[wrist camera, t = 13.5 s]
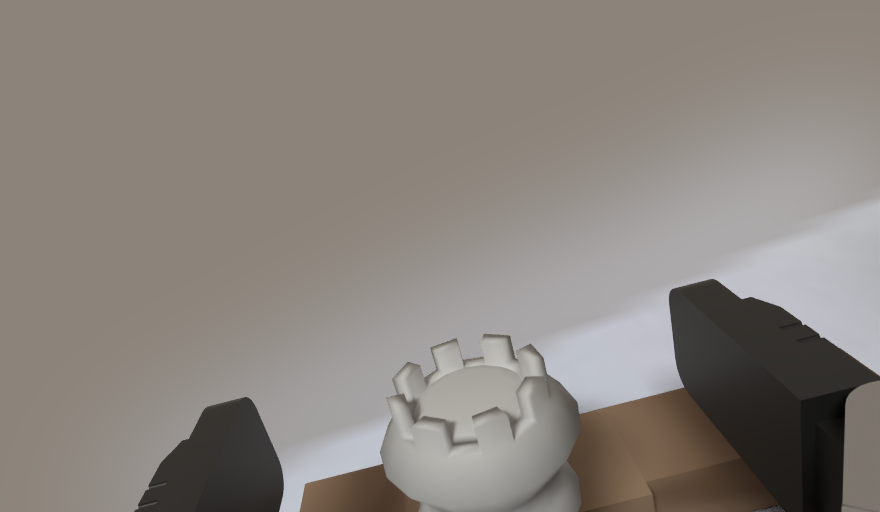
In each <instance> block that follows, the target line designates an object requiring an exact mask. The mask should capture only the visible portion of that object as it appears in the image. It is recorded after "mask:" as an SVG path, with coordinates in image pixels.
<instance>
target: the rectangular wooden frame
mask: <svg viewBox="0 0 880 512" xmlns="http://www.w3.org/2000/svg"><path fill="white" fill-rule="evenodd" d="M839 349H841V348H839ZM841 350H842V349H841ZM842 351H843V350H842ZM844 352H845V351H844ZM845 353H846V352H845ZM847 354H848V353H847ZM848 355H849V354H848ZM849 356H851V355H849ZM851 357H852V356H851ZM852 358H853V357H852ZM854 359H855V358H854ZM855 360H856V359H855ZM856 361H858V360H856ZM858 362H859V361H858ZM859 363H860V362H859ZM861 364H862V363H861ZM862 365H863V364H862ZM864 366H865V365H864ZM865 367H866V366H865ZM866 368H868V367H866ZM868 369H869V368H868ZM869 370H870V369H869ZM871 371H872V370H871ZM872 372H873V371H872ZM873 373H875V372H873ZM875 374H876V373H875ZM876 375H878V374H876ZM878 376H879V375H878ZM879 377H880V376H879ZM579 417H580V424H581V430H580V433H579V435H578V437H577V439H576V441H575V444H574V446H573V448H572V450H571V453H570V455H569V457H568V459H567V460H566V461H567V462H568V463H569V465H570V466H571V467H572V469H573V470H574V472H575V473H576V474H577V476H578V477H579V485H580V493H581V501H582V503H581V505H580V508H579V511H578V512H752V511H756V510H760V509H764V508H768V507H772V506H776V505H779V503H778V502H777V501H776V500H775V499H774V497H773V496H772V495H771V494H770V492H769V491H768V490H767V489H766V488H765V486H764V485H763V484H762V483H761V481H760V480H759V479H758V478H757V477H756V475H755V474H754V473H753V472H752V470H751V469H750V468H749V467H748V466H747V464H746V463H745V462H744V461H743V459H742V458H741V457H740V456H739V455H738V453H737V452H736V451H735V450H734V449H733V447H732V446H731V445H730V444H729V442H728V441H727V440H726V439H725V438H724V436H723V435H722V434H721V433H720V431H719V430H718V429H717V428H716V427H715V425H714V424H713V423H712V422H711V420H710V419H709V418H708V417H707V416H706V414H705V413H704V412H703V411H702V409H701V408H700V407H699V406H698V405H697V403H696V402H695V401H694V400H693V399H692V397H691V396H690V395H689V393H688V392H687V390H686V389H685V388H681V389H677V390H673V391H669V392H665V393H661V394H658V395H654V396H650V397H646V398H642V399H638V400H634V401H630V402H626V403H622V404H618V405H614V406H610V407H606V408H602V409H598V410H594V411H590V412H587V413H583V414H579ZM419 507H420V502H419V501H416V500H414V499H411V498H409V497H408V496H407V495H406V494H405V493H404V492H402V491H401V490H400V489H399V488H398V487H397V486H396V485H394V484H393V483H392V482H391V481H390V480H389V479H388V478H387V477H386V473H385V469H384V465H383V464H381V465H377V466H374V467H370V468H366V469H362V470H358V471H354V472H350V473H346V474H342V475H338V476H334V477H330V478H326V479H322V480H318V481H314V482H310V483H306V484H305V488H304V493H303V498H302V503H301V508H300V512H419Z"/></svg>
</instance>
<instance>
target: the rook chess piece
mask: <svg viewBox="0 0 880 512" xmlns="http://www.w3.org/2000/svg"><path fill="white" fill-rule="evenodd" d="M480 345H481V349H482V353H483V357H480V358H473V359H466V360H463V359H462V356H461V353H460V349H459V345H458V341H457V339H453V340H451V341H448V342H445V343H442V344H439V345H437V346H434V347H431V352H432V355H433V358H434V361H435V365H436V368H437V370H435V371H434V372H432V373H431V374H429V375H428V376H427V377H425V378H424V377H423V373H422V370H421V367H420V365H417V364H414V363H410V362H407V363H406V365H405V366H404V367H403V368H402V369H401V370H400V371H399V372H398V373H397V374H396V376H395V377H394V378H393V379H392V380H393V383H394V386H395V389H396V392H397V395H395V396H391V397H387V398H386V399H387V402H388V406H389V409H390V412H391V415H392V419H391V421H390V423H389V425H388V428H387V431H386V434H385V438H384V441H383V444H382V447H381V451H380V454H381V458H382V462H383V465H384V469H385V473H386V477H387V478H388V479H389V480H390V481H391V482H392V483H393V484H394V485H396V486H397V487H398V488H399V489H400V490H401V491H402V492H404V493H405V494H406V495H407V496H408V497H409V498H411V499H414V500H416V501H419V502H420V507H419V512H578V511H579V508H580V505H581V503H582V501H581V493H580V485H579V477H578V476H577V474H576V473H575V472H574V470H573V469H572V467H571V466H570V465H569V463H568V462H567V461H566V460H567V459H568V457H569V455H570V453H571V450H572V448H573V446H574V444H575V441H576V439H577V437H578V435H579V433H580V430H581V424H580V417H579V411H578V404H577V401H576V400H575V399H574V398H573V397H572V396H571V395H570V393H569V392H568V391H567V390H566V389H565V388H564V387H563V386H562V384H561V383H560V382H558V381H557V380H555V379H554V378H552V377H551V376H549V375H547V372H546V368H545V363H544V359H543V357H542V356H541V355H540V353H539V352H538V351H537V350H536V349H535V348H534V347H533V346H532V345H531V344H529V345H527V346H525V347H523V348H521V349H519V350H517V351H516V354H517V358H518V359H516V358H515V356H514V351H513V347H512V343H511V339H510V336H507V335H492V334H484V335H483V337H482V340H481V342H480Z"/></svg>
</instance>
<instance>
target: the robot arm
mask: <svg viewBox="0 0 880 512" xmlns="http://www.w3.org/2000/svg"><path fill="white" fill-rule="evenodd" d="M669 305H670V314H671V323H672V332H673V341H674V350H675V359H676V365H677V369H678V372H679V375H680V378H681V380H682V383H683V385H684V387H685V389H686V390H687V392H688V393H689V395H690V396H691V397H692V399H693V400H694V401H695V402H696V403H697V405H698V406H699V407H700V408H701V409H702V411H703V412H704V413H705V414H706V416H707V417H708V418H709V419H710V420H711V422H712V423H713V424H714V425H715V427H716V428H717V429H718V430H719V431H720V433H721V434H722V435H723V436H724V438H725V439H726V440H727V441H728V442H729V444H730V445H731V446H732V447H733V449H734V450H735V451H736V452H737V453H738V455H739V456H740V457H741V458H742V459H743V461H744V462H745V463H746V464H747V466H748V467H749V468H750V469H751V470H752V472H753V473H754V474H755V475H756V477H757V478H758V479H759V480H760V481H761V483H762V484H763V485H764V486H765V488H766V489H767V490H768V491H769V492H770V494H771V495H772V496H773V497H774V499H775V500H776V501H777V502H778V503H779V505H780V506H781V507H782V508H783V509H784V511H785V512H880V377H879V376H878V375H876V374H875V373H873V372H872V371H871V370H869V369H868V368H866V367H865V366H864V365H862V364H861V363H859V362H858V361H856V360H855V359H854V358H852V357H851V356H849V355H848V354H847V353H845V352H844V351H842V350H841V349H839V348H838V347H837V346H835V345H834V344H832V343H831V342H830V341H828V340H827V339H825V338H820V336H819V334H818V333H817V332H815V331H814V330H813V329H811V328H810V327H808V326H807V325H802V322H801V321H800V320H798V319H797V318H796V317H794V316H793V315H791V314H790V313H788V312H787V311H786V310H784V309H783V308H781V307H779V306H776V305H773V304H770V303H767V302H764V301H761V300H758V299H755V298H752V297H749V298H745V299H740V298H739V297H738V296H737V295H735V294H734V293H733V292H731V291H730V290H729V289H727V288H726V287H725V286H723V285H722V284H721V283H719V282H718V281H717V280H714V279H710V280H706V281H702V282H698V283H694V284H690V285H686V286H682V287H678V288H674V289H672V290H671V291H670V295H669ZM283 490H284V482H283V473H282V468H281V465H280V461H279V459H278V457H277V454H276V452H275V450H274V447H273V445H272V443H271V441H270V438H269V436H268V434H267V432H266V429H265V427H264V425H263V422H262V420H261V418H260V416H259V413H258V411H257V409H256V407H255V405H254V403H253V402H252V400H251V399H249V398H247V397H244V398H240V399H236V400H232V401H228V402H224V403H220V404H217V405H213V406H209V407H207V408H205V409H204V411H203V412H202V414H201V416H200V418H199V420H198V422H197V424H196V426H195V428H194V430H193V432H192V434H191V436H190V438H189V439H187V440H183V441H182V442H181V443H180V444H179V445H178V446H177V447H176V448H175V449H174V450H173V451H172V452H171V453H170V454H169V455H168V456H167V457H166V458H165V459H164V460H163V461H162V462H161V464H160V465H159V467H158V469H157V471H156V473H155V475H154V476H153V478H152V480H151V482H150V484H149V490H146V491H145V493H144V495H143V497H142V499H141V500H140V502H139V504H138V506H139V509H137V510H135V511H134V512H279V510H280V505H281V501H282V497H283Z"/></svg>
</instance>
